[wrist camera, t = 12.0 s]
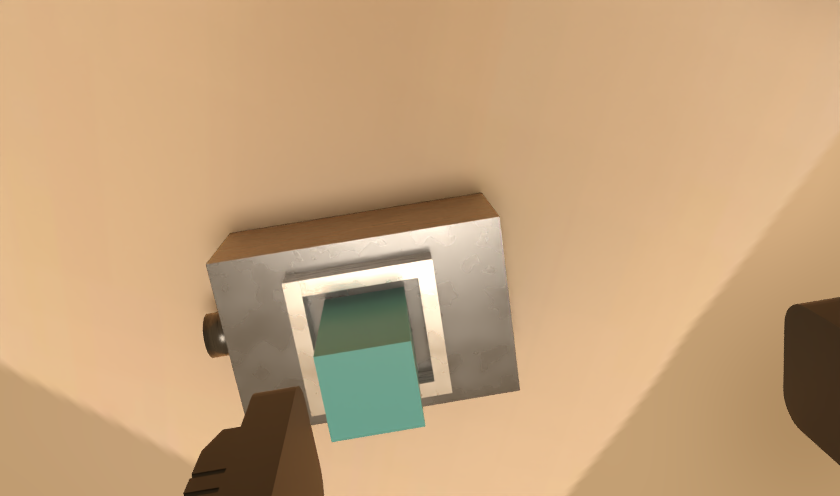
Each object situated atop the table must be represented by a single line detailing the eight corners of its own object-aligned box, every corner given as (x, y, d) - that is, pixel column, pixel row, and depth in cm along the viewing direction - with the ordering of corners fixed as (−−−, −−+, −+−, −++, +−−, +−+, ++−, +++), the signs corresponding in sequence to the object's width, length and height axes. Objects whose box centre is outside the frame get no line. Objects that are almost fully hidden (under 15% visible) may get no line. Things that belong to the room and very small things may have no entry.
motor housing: (481, 192, 47) (504, 222, 39) (500, 345, 50) (524, 401, 42) (201, 237, 46) (165, 277, 38) (240, 388, 50) (214, 454, 42)
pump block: (404, 286, 41) (410, 341, 33) (416, 358, 43) (425, 426, 35) (324, 299, 41) (313, 357, 33) (339, 371, 42) (331, 442, 35)
